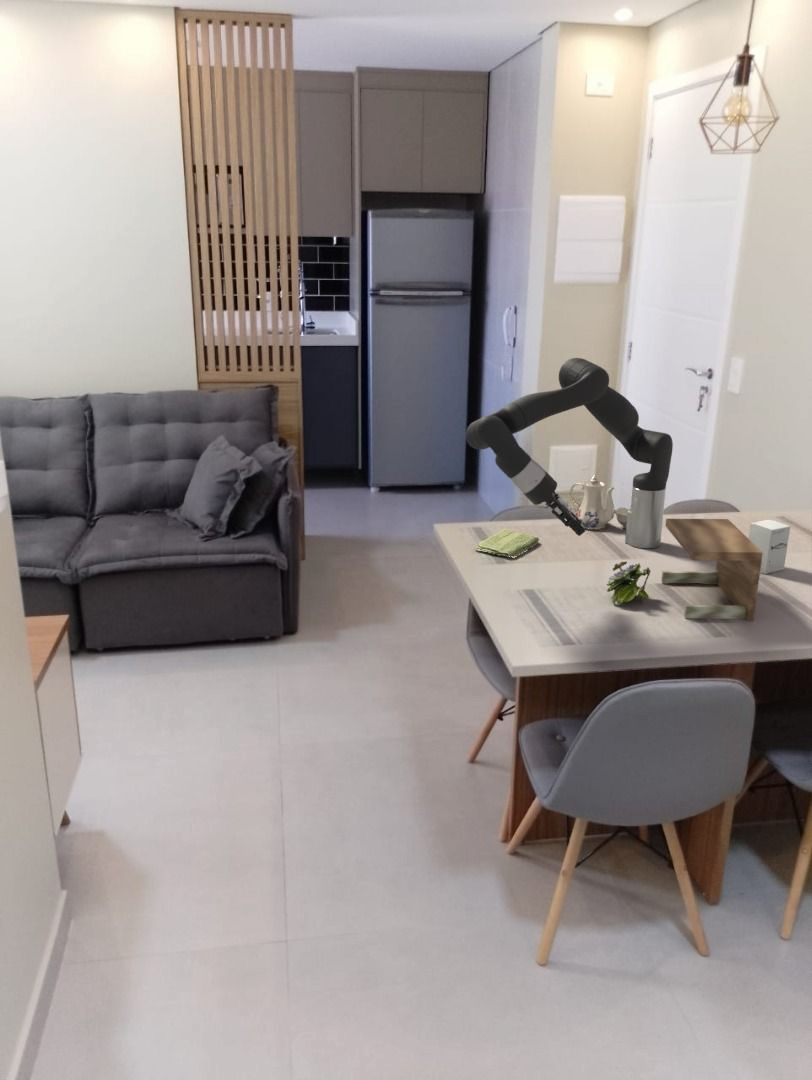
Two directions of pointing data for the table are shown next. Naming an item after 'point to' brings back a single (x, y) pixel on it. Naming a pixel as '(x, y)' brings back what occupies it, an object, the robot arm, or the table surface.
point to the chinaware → (596, 506)
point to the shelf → (718, 565)
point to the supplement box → (770, 543)
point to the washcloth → (508, 543)
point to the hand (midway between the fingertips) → (580, 528)
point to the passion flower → (627, 583)
